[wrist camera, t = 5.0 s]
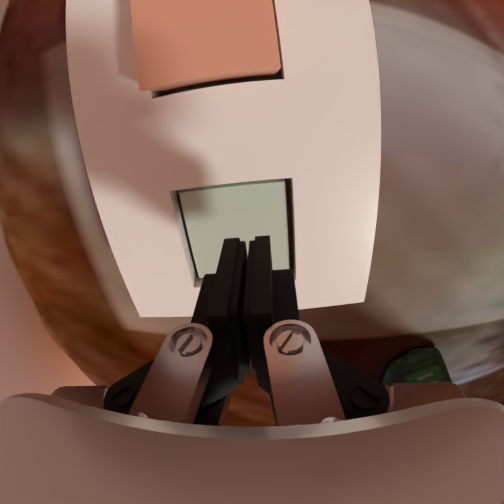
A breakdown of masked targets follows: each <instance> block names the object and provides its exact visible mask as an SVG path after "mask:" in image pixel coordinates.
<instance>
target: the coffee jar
mask: <svg viewBox="0 0 504 504" xmlns="http://www.w3.org/2000/svg"><path fill="white" fill-rule="evenodd" d="M430 382H452V381H451V378H450V375H449V373H448V370H447V367H446V365H445V362H444V360H443V358H442V355H441V353H440V351H439V350H438V349H437V348H435V347H426V348H425V347H424V348H419V349H415V350H412V351H410V352H408V353H407V354H405V355H403V356H402V357H400V358H398V359H396V360H394V361H393V362H391V364H390V365H389V366H388V368H387V370H386V372H385V375H384V377H383V381H382V384H383V385H384V386H392V385H393V383H430Z"/></svg>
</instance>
